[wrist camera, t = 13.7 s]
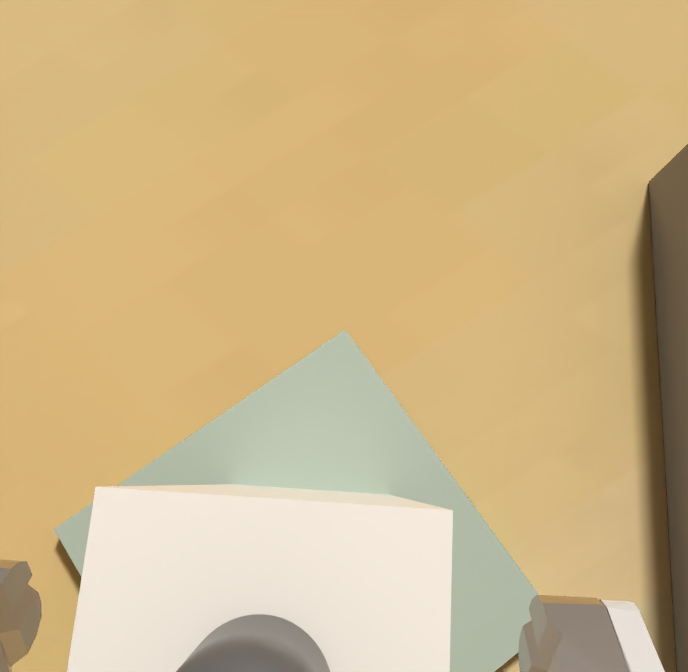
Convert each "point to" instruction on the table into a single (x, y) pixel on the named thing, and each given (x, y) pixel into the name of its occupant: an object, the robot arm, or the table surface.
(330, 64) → the table surface
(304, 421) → the mat
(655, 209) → the power strip
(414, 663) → the plug
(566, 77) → the table surface
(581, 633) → the robot arm
